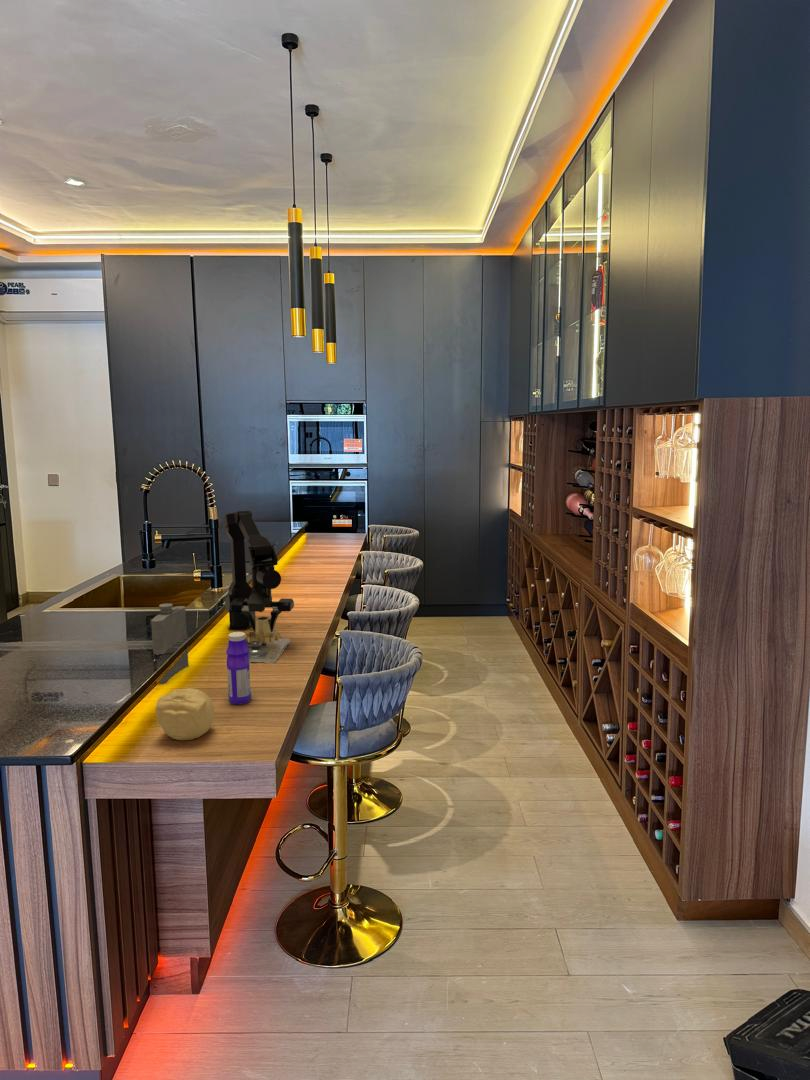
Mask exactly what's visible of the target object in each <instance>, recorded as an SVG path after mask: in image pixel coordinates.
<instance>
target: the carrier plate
mask: <svg viewBox="0 0 810 1080" xmlns="http://www.w3.org/2000/svg"><path fill="white" fill-rule="evenodd" d="M245 639H246V644H247V647H248V648H249V652H248V655H249V660H250V662H267V663H266V664H276V662H277V661H278V660H279V658H280V657H281V655H282V654H283V653H282V652H285V650H286V649H287V648H288V646H289V644H290V643H291V638H281V637H280V638H279V640H278V641H277V640H275V641H274V642H272V643H271V642H268V643H265V644H262V643H259V641H252V642H248V640H247V637H245ZM287 645H288V646H287ZM285 648H286V649H285ZM284 649H285V650H284ZM279 656H280V657H279ZM277 659H278V660H277ZM276 660H277V661H276ZM268 662H269V663H268Z"/></svg>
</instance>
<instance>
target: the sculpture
mask: <svg viewBox="0 0 810 1080" xmlns="http://www.w3.org/2000/svg"><path fill="white" fill-rule="evenodd" d="M155 714H156V716H155V717H156V722H157V724H159V725H160V726H161V728H162V730H163V731H164V733H165V734H166V735H167V737H170V738H171V739H173V740H177V741H192V740H195V738H196V739H198V738H200V737H201V736H204V735H205V734H206V733H207V732H208V731H209V730H210V728H211V726H212V724H213V721H214V718H215V717H214V716H215V708H214V704H213V701H212V700H211V698H210V696H208V694H207V693H205V691H202V690H201V689H197V688H193V687H192V688H190V687H189V688H188V687H187V688H181V689H179V688H175V689H173V690H171V691H170V692H169V693H167V694H164V695H162V696H160V697H159V698H158V699H157V702H156V706H155Z"/></svg>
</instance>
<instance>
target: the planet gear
mask: <svg viewBox="0 0 810 1080" xmlns="http://www.w3.org/2000/svg"><path fill="white" fill-rule="evenodd" d="M254 622H255V632H254V631H249V632H248V633H247V634H246V638H247V640H248V642H252V641H259V643H262V644H265V643H268V642H271V643H272V642H274V641H275V640H277V641H278V640H279V638H281V632H280V631H279V630H277V629H276V630H275V629H273V632H271V616H268V615H267V616H266V615H265V616H264V615H262V616H257V617H256V618H255V619H254Z"/></svg>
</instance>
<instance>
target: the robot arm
mask: <svg viewBox="0 0 810 1080" xmlns="http://www.w3.org/2000/svg"><path fill="white" fill-rule="evenodd" d="M222 526H223V528H224V532H225V533H226V535H227V536H228V538H229V540H230V541H229V543H230V555H231V557H230V561H231V574H232V580H231V581H232V582H231V583H230V586H229V587H228V589H227V593H228V594H227V595H226V598H225V601H224V608H225V611H226V612H228V615H229V617H228V618H229V627H228V628H227V629H228V630H248V629H249V628H250V627H251V628H252V630H253V631H252V632H255V622H254V619H255V618H256V612H259V613H262V612H265V609H266V608H268V609H269V608H271V609H272V610H271V611H270V617H271V632H273V630H275V626H276V623H277V621H278V616H279V615H280V614H281V613H283V612H291V611H292V610H293V609H294V607H295V601H294V599H293V598H285V597H283V598H280V599H279V600H278V601H273V595H272V590H273V589H276V588H278V587H279V586H280V584H281V581H282V576H281V574H280V572H279V571H277V570H276V569H275V566H278V565H279V563H278V559H279V558H278V555H277V553H276V550H275V548H274V546H273V544H272V543H271V542H270V541H269V539H268V538H266V537H265V536H263V535H262V534H261V532H260V531H259V528H258V527H257V525H256V522H255V520H254V519H253V513H252V511H250V510H237V511H235V512H227V513H226V514H225V515H224V516H223V517H222ZM245 541H246V544H247V545H246V546H245ZM245 547H246V548H245ZM246 557H247V559H248V562H249V564H250V567H251V570H250V571H251V586H250V585H249V583H248V582H247V567H246V566H247V564H246Z"/></svg>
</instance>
